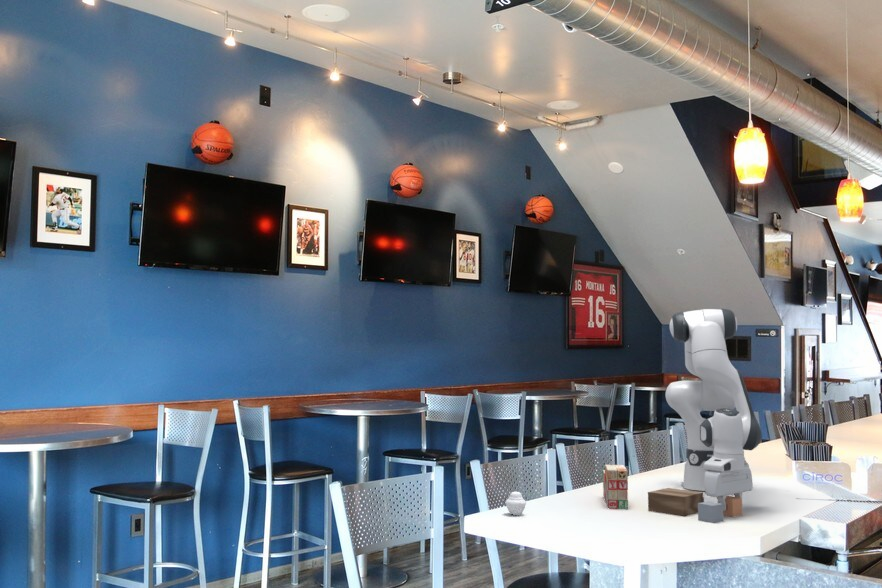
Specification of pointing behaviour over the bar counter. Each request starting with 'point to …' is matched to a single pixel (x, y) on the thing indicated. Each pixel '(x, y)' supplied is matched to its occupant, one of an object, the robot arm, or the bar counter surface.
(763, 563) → the bar counter surface
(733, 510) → the rust cube
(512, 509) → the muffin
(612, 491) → the stack of blocks
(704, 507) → the grey cube
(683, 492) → the walnut block
